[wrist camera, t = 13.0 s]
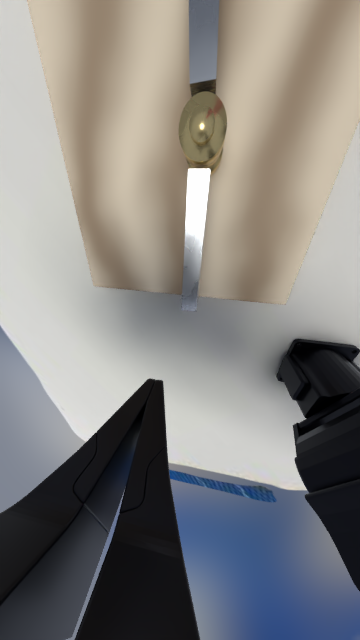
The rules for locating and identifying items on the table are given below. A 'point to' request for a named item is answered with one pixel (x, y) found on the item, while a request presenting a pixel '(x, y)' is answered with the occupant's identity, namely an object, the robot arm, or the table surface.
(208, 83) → the swing leaf
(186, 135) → the fixed leaf
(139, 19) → the board
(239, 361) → the table surface
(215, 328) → the table surface
